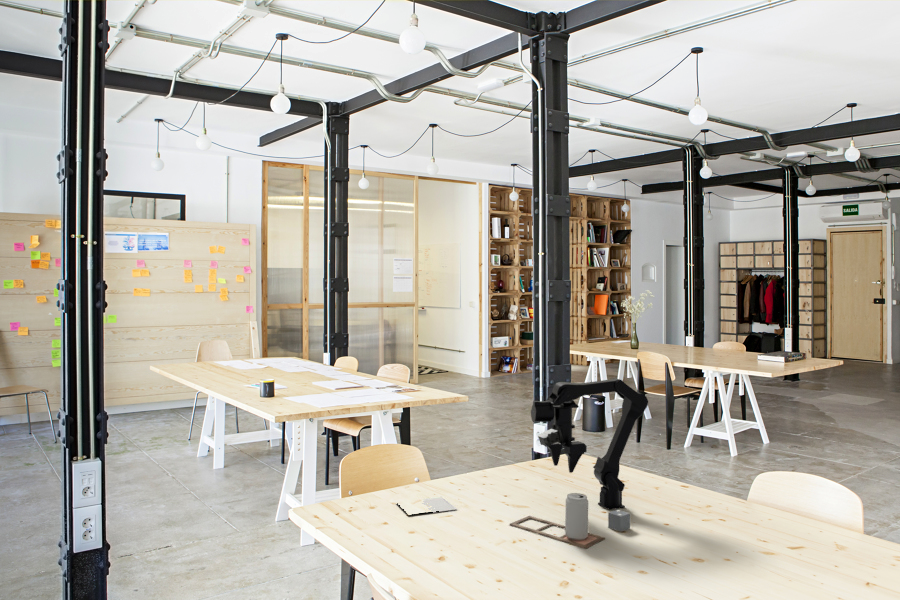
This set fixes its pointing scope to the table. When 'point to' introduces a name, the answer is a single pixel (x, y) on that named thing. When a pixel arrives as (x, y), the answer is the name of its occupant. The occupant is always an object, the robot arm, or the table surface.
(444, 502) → the paper stack
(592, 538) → the brown divided frame
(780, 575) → the table surface
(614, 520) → the grey cube
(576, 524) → the beverage can
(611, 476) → the robot arm
